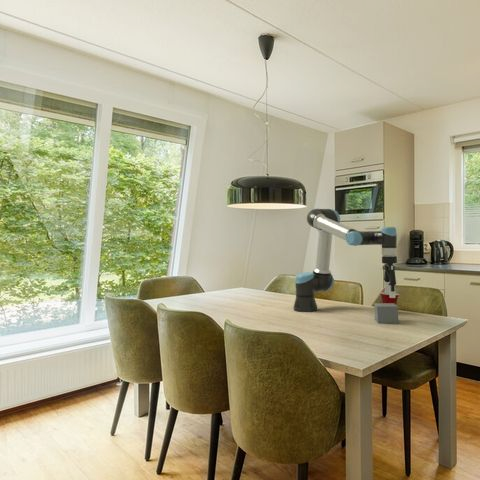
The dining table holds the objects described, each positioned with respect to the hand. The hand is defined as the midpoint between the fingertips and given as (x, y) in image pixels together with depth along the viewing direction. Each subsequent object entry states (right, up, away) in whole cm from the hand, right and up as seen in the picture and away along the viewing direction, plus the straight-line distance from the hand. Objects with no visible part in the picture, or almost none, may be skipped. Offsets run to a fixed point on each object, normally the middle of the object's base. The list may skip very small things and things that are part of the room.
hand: (390, 295), depth 200 cm
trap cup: (-2, -14, 0) cm, 14 cm away
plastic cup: (+9, -14, +23) cm, 29 cm away
